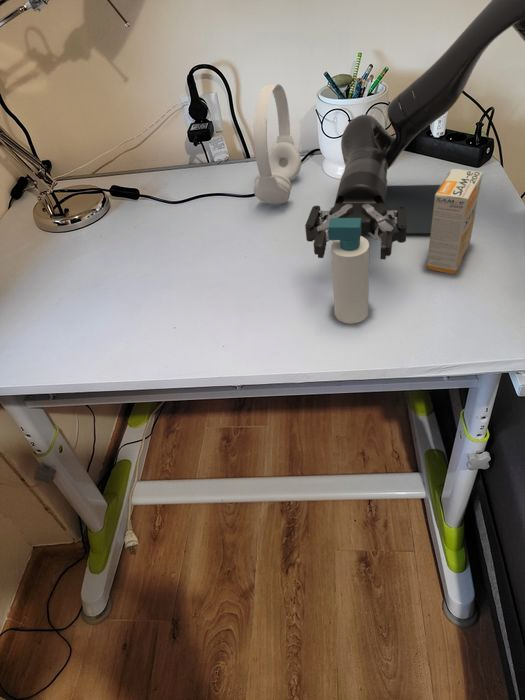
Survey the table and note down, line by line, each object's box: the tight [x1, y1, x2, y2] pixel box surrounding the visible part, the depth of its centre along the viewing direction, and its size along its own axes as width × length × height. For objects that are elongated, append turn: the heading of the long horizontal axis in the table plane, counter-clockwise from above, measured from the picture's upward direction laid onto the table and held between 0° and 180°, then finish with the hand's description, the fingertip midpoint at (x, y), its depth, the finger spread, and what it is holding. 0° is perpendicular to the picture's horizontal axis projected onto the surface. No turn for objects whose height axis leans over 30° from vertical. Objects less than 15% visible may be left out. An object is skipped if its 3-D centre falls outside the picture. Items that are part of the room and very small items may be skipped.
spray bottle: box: [327, 218, 370, 325], centre depth 70 cm, size 5×5×16 cm
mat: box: [361, 184, 442, 237], centre depth 92 cm, size 16×16×1 cm
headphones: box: [253, 83, 302, 205], centre depth 96 cm, size 7×18×20 cm, turn 166°
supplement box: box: [426, 168, 484, 275], centre depth 77 cm, size 8×5×13 cm, turn 150°
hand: (351, 253), depth 69 cm, fingers open, 8 cm apart
